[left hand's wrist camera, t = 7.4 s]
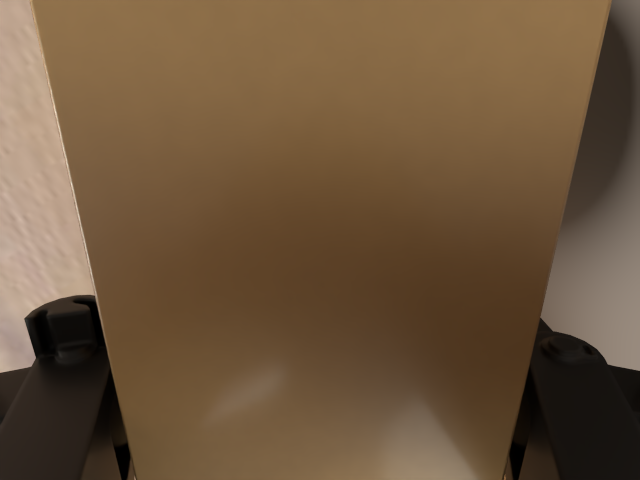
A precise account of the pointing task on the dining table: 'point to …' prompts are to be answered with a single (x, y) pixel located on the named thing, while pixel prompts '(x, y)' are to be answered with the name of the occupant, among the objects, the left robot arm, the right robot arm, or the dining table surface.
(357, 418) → the bar
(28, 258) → the dining table surface
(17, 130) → the dining table surface
